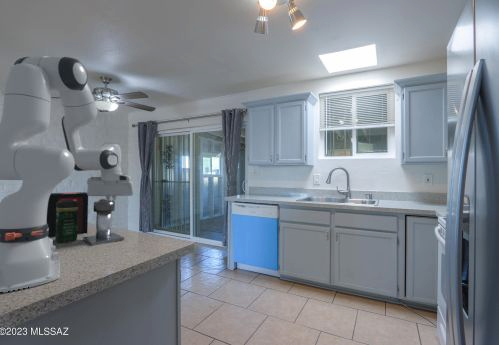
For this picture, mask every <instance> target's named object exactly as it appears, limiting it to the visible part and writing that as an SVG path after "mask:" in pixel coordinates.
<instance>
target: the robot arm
mask: <svg viewBox="0 0 499 345" xmlns="http://www.w3.org/2000/svg"><path fill="white" fill-rule="evenodd" d="M8 71H9V72H8V74H7V78H6V82H5V86H4V95H3V105H2V106H3V107H2V115H1V119H0V181H22V184H21V186H20V188H19V189H18V191H15V192H12V193H10V194H8V195H6V196H4V197H3V198H2V199H1V201H0V292H3V293H9V292H8V291H10V292H14V291H13V290H15V291H19V290H18V289H20V290H24V289H23V288H25V289H29V288H33V287H36V286H41V285H44V284H47V283H51V282H53V281H56V280H58V279H60V277H61V260H58V259H59V251H55V250H56V245H53V239H52V238H51V237H48V235H49V234H48V231H49V227H48V224H47V207H48V200H49V197H50V195H51V193H53V192H54V189H55V188H56V187H57V186H58V185H59V184H60V183H61V182H62V181H64V180H65V179H67V178H68V177H70V175H72V174H73V172H74V171H77V172H84V171H100V176H90V177H89V178H88V179H87V182H86V183H87V190H86V193H87V195H88V197H105V199H106V200H107V201H115V202H116V199H117V197H130V196H131V197H132V196H133V195H134V194H135V186H134V182H133V181H132V176H131V175H128V174H126V173H125V174H124V173H123V172H122V167H121V166H122V149H121V146H120V145H119V144H117V143H113V142H104V143H102V144H101V145H102V146H101V147H99V148H96V149H95V148H86V147H83V144H82V141H81V136H80V128H82V127H84V126H87V125H89V124H91V123H92V122H93V121H95V120H96V118H97V116H98V106H97V103H96V101H95V98H94V95H93V93H92V91H91V88H90V86H89V84H88V72H87V69H86V67H85V65H84V64H83V63H82V62H81V61H80V60H78V59H77V58H74V57H69V56H64V57H63V56H49V55H39V56H25V57H21V58H18V59H16V61H15V62H14V63H13V65H12V66H11V67H10V69H9V70H8ZM52 91H56V92H58V95H59V98H60V101H61V104H62V105H63V109H64V110H63V111H64V115H63V116H62V117H61V128H62V132H63V137H64V142H65V145H66V148H63V147H59V146H54V145H47V144H45V145H43V144H29V142H30V141H31V139H32V138H33V137H34V136H36V135H39V134H42V133H44V132H45V131H47V130H48V129H49V127H50V125H51V112H52V111H51V109H52ZM111 198H112V200H111ZM28 287H29V288H28Z"/></svg>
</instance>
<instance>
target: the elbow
mask: <svg viewBox="0 0 499 345" xmlns="http://www.w3.org/2000/svg"><path fill="white" fill-rule="evenodd" d="M115 209H116V200H115V201H112V200H111V201H108V200H107V199H106V198H101V199H99V200H97V201H94V202H93V212H94V213H97V212H110V211H112V212H115V211H116V210H115Z"/></svg>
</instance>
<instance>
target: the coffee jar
mask: <svg viewBox="0 0 499 345" xmlns="http://www.w3.org/2000/svg"><path fill="white" fill-rule="evenodd" d="M56 204H57V205H56V235H55V237H54V238H55V241H56V243H70V242H74V241H77V240H78V234H77V229H78V202H77V201H74V200H72V199H61V200H60V201H58V202H57V203H56Z"/></svg>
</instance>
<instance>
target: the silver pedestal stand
mask: <svg viewBox="0 0 499 345" xmlns="http://www.w3.org/2000/svg"><path fill="white" fill-rule="evenodd" d="M112 214H113V211H110V212H96V218H95V219H96V220H95V221H96V222H95V223H96V226H95V228H96V229H95V235H89V236H88V235H87V236H83V237H82V240H83V241H85V242H86V243H88V245H90V246H98V245H103V244H110V243H116V242H122V241H125V237H124V236H122V235H120V234H118V233H116V232H112V221H113V220H112V219H113V218H112Z"/></svg>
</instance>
